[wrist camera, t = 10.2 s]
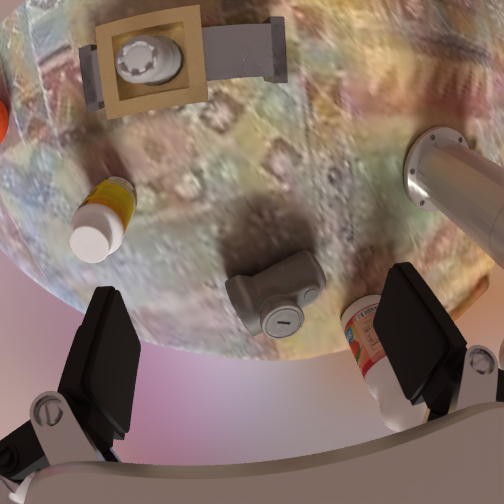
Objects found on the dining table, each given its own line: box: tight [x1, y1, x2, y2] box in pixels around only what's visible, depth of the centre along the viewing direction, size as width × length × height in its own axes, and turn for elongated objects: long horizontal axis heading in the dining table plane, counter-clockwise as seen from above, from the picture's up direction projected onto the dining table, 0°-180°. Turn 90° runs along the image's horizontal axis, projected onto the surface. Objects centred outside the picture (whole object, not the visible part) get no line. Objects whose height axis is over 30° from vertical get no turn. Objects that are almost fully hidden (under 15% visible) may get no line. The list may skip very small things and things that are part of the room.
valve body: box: [78, 5, 288, 120], centre depth 22 cm, size 18×8×8 cm, turn 93°
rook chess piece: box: [115, 35, 184, 86], centre depth 17 cm, size 4×4×8 cm
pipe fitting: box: [225, 250, 326, 339], centre depth 38 cm, size 12×8×10 cm
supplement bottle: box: [70, 177, 137, 263], centre depth 28 cm, size 6×6×10 cm
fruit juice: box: [341, 295, 427, 432], centre depth 39 cm, size 9×9×28 cm
